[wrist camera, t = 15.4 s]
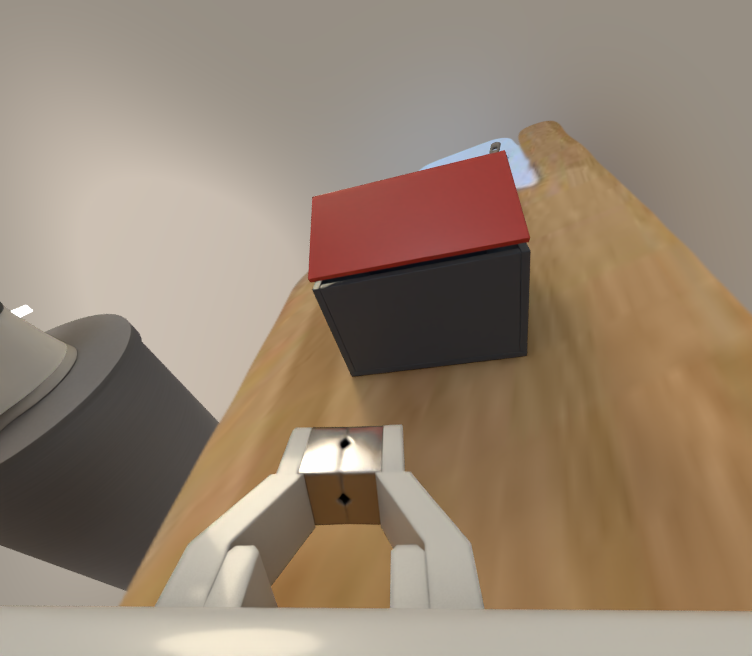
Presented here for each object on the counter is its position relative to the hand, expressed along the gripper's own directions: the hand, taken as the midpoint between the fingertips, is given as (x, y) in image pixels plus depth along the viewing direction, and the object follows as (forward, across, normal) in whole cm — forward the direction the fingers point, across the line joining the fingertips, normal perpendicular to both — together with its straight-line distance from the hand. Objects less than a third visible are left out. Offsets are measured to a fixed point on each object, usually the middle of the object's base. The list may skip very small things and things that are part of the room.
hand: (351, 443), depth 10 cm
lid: (+15, -2, -4) cm, 16 cm away
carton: (+22, -4, +5) cm, 23 cm away
